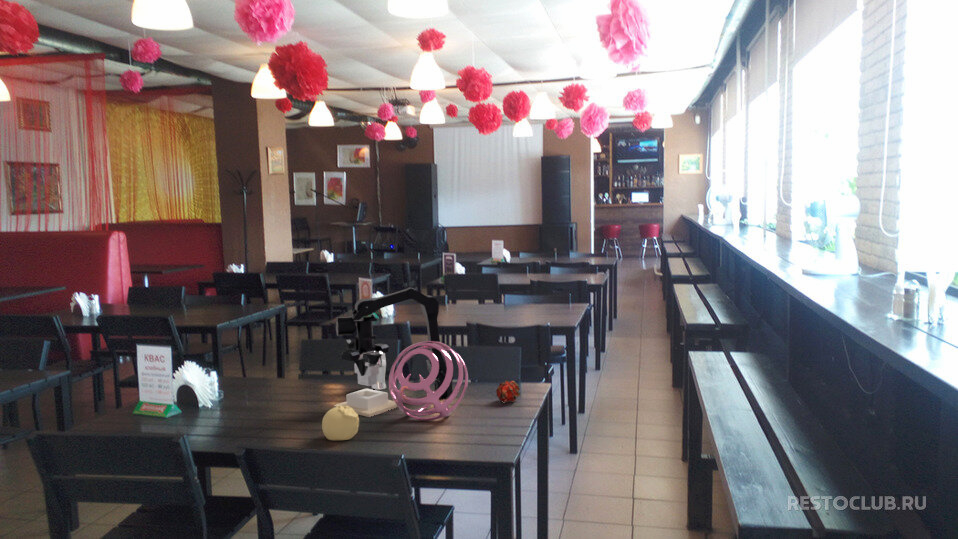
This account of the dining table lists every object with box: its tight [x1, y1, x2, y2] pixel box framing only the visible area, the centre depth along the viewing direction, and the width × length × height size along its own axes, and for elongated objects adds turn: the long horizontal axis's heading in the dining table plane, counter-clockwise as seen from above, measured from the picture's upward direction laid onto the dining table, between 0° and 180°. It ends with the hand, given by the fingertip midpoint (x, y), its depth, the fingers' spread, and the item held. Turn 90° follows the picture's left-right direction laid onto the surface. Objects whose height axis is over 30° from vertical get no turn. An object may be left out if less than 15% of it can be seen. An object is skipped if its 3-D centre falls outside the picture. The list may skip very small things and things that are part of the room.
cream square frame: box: [333, 387, 399, 418], centre depth 261 cm, size 20×16×5 cm
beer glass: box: [370, 351, 387, 391], centre depth 287 cm, size 7×7×15 cm
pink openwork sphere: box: [388, 340, 469, 422], centre depth 246 cm, size 28×28×27 cm
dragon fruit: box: [496, 379, 522, 403], centre depth 260 cm, size 8×8×12 cm
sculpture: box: [321, 405, 360, 441], centre depth 227 cm, size 11×12×11 cm
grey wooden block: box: [353, 361, 379, 387], centre depth 261 cm, size 9×4×8 cm, turn 50°
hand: (366, 374), depth 260 cm, fingers closed on grey wooden block, 4 cm apart
